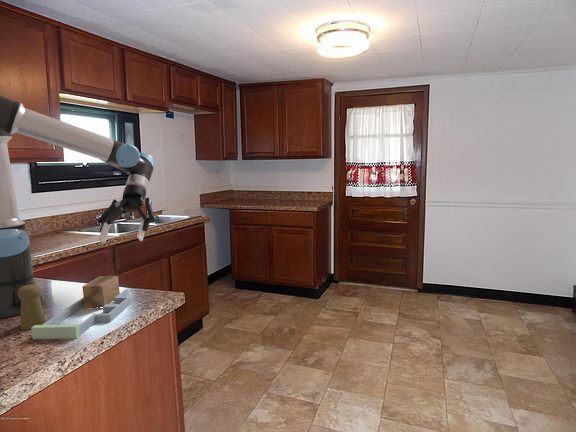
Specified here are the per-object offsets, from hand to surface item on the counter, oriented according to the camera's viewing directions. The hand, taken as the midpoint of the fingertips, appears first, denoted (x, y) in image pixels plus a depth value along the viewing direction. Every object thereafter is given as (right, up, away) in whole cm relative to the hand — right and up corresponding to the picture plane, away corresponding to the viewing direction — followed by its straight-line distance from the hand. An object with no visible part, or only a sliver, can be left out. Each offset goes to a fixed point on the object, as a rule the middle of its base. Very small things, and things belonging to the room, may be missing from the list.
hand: (120, 240), depth 129 cm
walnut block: (-1, -19, -10) cm, 21 cm away
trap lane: (+1, -20, -19) cm, 28 cm away
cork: (-12, -22, -25) cm, 36 cm away
